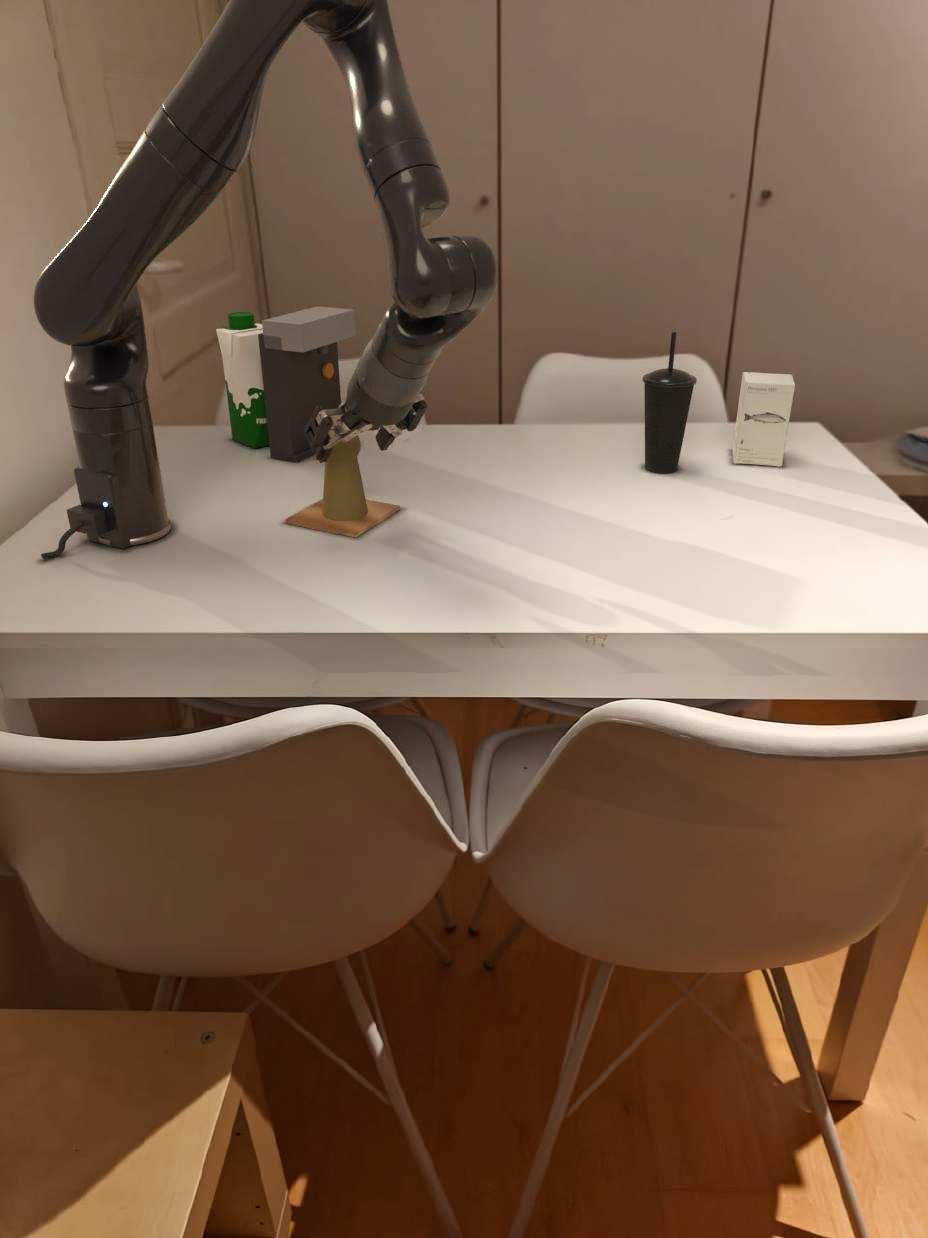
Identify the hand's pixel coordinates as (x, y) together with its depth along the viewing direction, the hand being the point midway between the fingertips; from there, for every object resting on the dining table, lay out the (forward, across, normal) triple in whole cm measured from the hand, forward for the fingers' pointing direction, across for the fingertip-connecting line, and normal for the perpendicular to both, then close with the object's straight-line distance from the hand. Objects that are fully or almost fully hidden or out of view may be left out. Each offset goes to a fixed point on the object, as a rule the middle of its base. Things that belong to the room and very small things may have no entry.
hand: (350, 450), depth 117 cm
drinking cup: (+3, -49, +11) cm, 50 cm away
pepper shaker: (+9, 0, +5) cm, 10 cm away
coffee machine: (+30, -9, -16) cm, 35 cm away
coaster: (+9, 0, +5) cm, 10 cm away
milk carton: (+37, -4, -23) cm, 43 cm away
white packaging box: (0, -64, +15) cm, 66 cm away
